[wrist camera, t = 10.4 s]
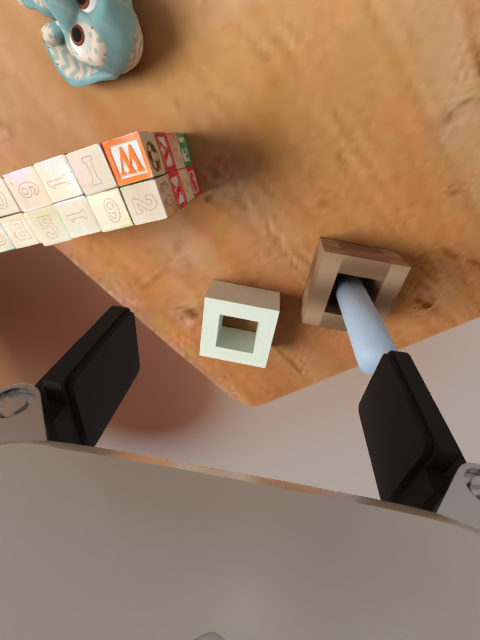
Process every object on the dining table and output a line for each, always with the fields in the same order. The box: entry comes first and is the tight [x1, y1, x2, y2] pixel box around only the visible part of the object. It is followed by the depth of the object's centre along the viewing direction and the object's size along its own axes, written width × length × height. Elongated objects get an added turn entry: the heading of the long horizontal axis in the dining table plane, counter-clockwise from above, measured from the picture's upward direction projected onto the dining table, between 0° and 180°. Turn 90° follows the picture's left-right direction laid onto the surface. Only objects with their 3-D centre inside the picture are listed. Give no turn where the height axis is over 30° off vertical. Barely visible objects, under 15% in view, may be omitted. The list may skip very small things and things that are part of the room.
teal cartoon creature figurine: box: [17, 0, 143, 87], centre depth 25 cm, size 11×7×12 cm
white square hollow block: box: [200, 280, 280, 368], centre depth 40 cm, size 9×9×5 cm
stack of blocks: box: [0, 131, 201, 252], centre depth 30 cm, size 21×6×12 cm, turn 103°
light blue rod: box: [333, 273, 398, 375], centre depth 31 cm, size 3×3×16 cm
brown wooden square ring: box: [301, 237, 411, 332], centre depth 36 cm, size 9×9×5 cm
